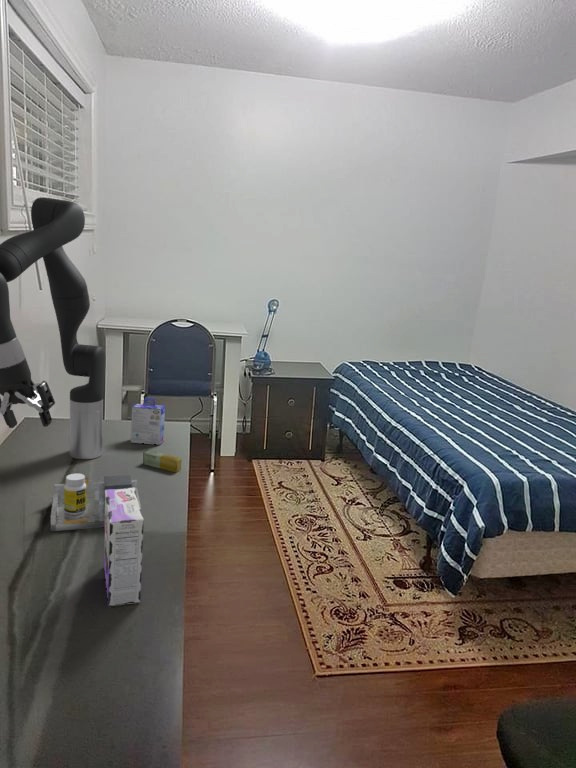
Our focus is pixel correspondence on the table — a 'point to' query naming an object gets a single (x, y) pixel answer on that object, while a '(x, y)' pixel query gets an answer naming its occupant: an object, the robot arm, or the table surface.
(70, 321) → the robot arm
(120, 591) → the candy box
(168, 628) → the table surface
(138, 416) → the ink cartridge box
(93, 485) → the rack
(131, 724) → the table surface
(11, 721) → the table surface
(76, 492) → the supplement bottle
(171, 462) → the medication box
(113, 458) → the table surface
